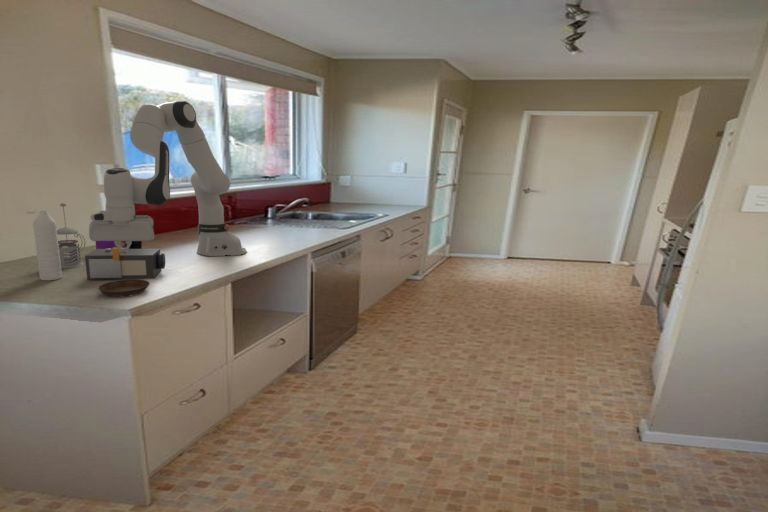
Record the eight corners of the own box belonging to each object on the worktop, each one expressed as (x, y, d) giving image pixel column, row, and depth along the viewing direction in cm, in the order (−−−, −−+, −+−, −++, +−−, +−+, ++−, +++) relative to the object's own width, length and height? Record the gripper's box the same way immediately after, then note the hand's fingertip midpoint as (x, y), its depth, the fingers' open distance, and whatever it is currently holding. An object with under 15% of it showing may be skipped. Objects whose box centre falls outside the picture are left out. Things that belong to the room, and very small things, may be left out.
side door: (122, 276, 162) (119, 247, 159) (120, 278, 160) (118, 248, 158) (91, 277, 159) (88, 247, 157) (89, 278, 158) (86, 248, 155)
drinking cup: (149, 261, 190) (145, 215, 185) (132, 264, 183) (128, 216, 178) (137, 258, 193) (133, 213, 188) (120, 262, 186) (116, 215, 181)
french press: (48, 266, 175) (41, 203, 169) (77, 260, 186) (71, 201, 180) (66, 269, 172) (58, 205, 166) (94, 263, 182) (88, 202, 177)
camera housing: (166, 270, 176) (165, 246, 174) (159, 278, 165) (157, 253, 163) (99, 271, 170) (97, 246, 168) (87, 280, 159) (84, 253, 157)
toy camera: (136, 250, 208) (134, 229, 206) (116, 257, 194) (114, 234, 192) (114, 249, 209) (112, 228, 207) (93, 255, 195) (91, 233, 193)
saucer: (90, 293, 146) (89, 285, 145) (135, 284, 158) (135, 276, 158) (113, 302, 138) (112, 294, 138) (158, 292, 150) (158, 284, 150)
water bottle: (52, 275, 163) (43, 207, 157) (66, 277, 162) (59, 209, 156) (29, 281, 154) (19, 210, 149) (44, 283, 153) (35, 211, 148)
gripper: (155, 214, 162) (157, 251, 165) (92, 213, 157) (96, 251, 160) (150, 216, 156) (153, 254, 159) (85, 215, 151) (89, 254, 154)
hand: (124, 252), depth 159 cm, fingers closed
